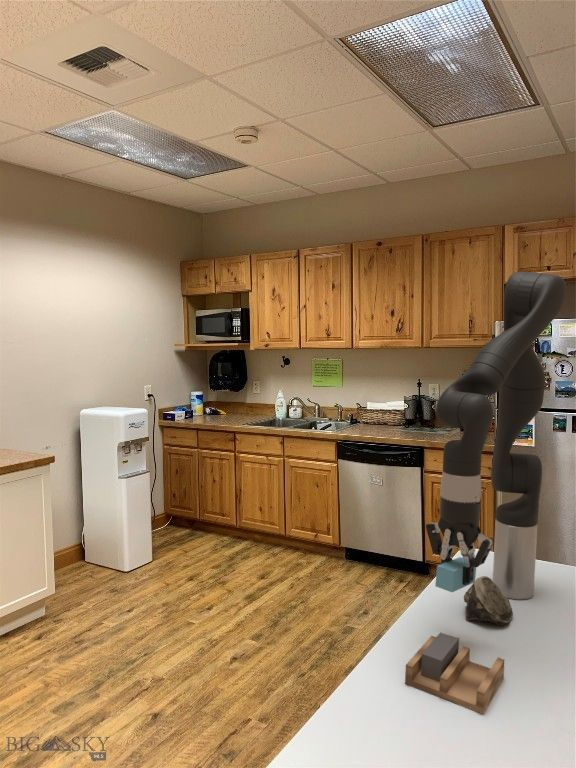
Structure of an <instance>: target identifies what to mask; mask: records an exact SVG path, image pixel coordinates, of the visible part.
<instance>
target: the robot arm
mask: <svg viewBox="0 0 576 768" xmlns="http://www.w3.org/2000/svg"><path fill="white" fill-rule="evenodd" d="M566 296H567V286H566V282H565V280H564V278H563V277H562V276H560V275H556V274H551V273H543V272H531V271H530V272H529V271H514V272H513V273H511V275H510V276H509V277H508V279H507V281H506V284H505V286H504V293H503V308H502V309H503V311H502V312H503V313H502V314H503V332H502V333H500V334H498V335H496V336H495V337H493V338H492V339H491V340H489V341H488V342H487V343H485V344H484V345H483V347H482V348H481V349H480V350H479V352H478V353H477V355H476V357H475V358H474V360H473V362H472V363H471V364H470V366H469V368H468V369H467V370H466V371H465V372H463V373H462V374H461V375H460V376H459V377H458V378H457V379H456V380H455V381H453V382H452V383H451V384H450V385H449V386H448V387H446V389H445V390H444V391H443V392H442V393H441V395H440V396H439V398H438V400H437V403H436V407H435V413H436V418H437V420H438V421H439V422H440V423H441V424H442V425H444V426H446V427H449V428H456V429H461V430H463V433H462V436H461V437H460V439H453V440H449V441H447V442H445V444H444V447H443V456H442V475H441V480H440V494H439V495H440V497H439V498H440V499H439V517H440V518H439V520H438V521H437V522H436V521H432V522H430V523H427V524H426V525H425V529H426V533H427V537H428V540H429V542H430V543H429V544H430V547H431V550H432V554H434V555H438V556H439V557H440V559H441V560H440V561H441V562H440V565H441V564H443V563H446V562H449V561H452V560H453V558H452V556H453V552H454V550H455V549H454V548H455V547H457V548H459V551H460V555H461V556H462V558H463V562H464V566H463V579H462V584H463V585H468V584H470V582H472V581H473V579H474V567H476V568H479V567H480V566H481V565H483V564H485V562H486V560H487V558H488V555H489V553H490V552H491V549H492V547H493V546H494V547H493V549H494V550H493V563H492V564H493V565H492V566H493V567H492V569H493V570H492V581H493V583H495V584H496V585H497V586H498V588H499V589H500V591H501V593H502V594H503V595H504V596H505V597H507V598H508V599H512V600H529V599H531V598H532V597H533V596H534V593H535V592H534V591H535V590H534V589H535V578H536V577H535V576H536V575H535V574H536V559H537V542H538V541H537V540H538V522H539V519H538V518H539V510H540V509H539V507H540V495H541V488H542V482H543V481H542V480H543V465H542V461H541V457H539V456H538V455H537V454H531V453H516V452H515V453H514V452H511V449H512V447H513V445H514V443H515V442H516V439H517V438H518V436H519V435H520V433H522V431H523V430H524V429H525V428H526V427H527V426H528V424H530V422H531V421H532V420H533V419H534V417H536V416H537V414H538V413H539V412H540V410H541V408H542V407H543V403H544V396H545V388H546V387H545V385H546V374H545V370H544V369H543V365H542V364H541V362H540V359H539V358H538V356H537V353H536V352H535V350H534V349H533V346H532V345H533V343H534V342H535V341H536V340H537V339H538V338H539V337H540V335H541V334H542V333H544V331H545V330H547V327H548V326H549V325H550V324H551V323H553V321H554V319H555V318H556V317H557V315H558V314H559V313H560V311H561V309H562V308H563V306H564V303H565V300H566ZM496 393H498V407H497V409H498V412H497V414H498V415H497V425H496V434H495V441H494V442H495V443H494V448H493V455H492V461H491V471H490V482H491V486H492V488H493V489H494V490H495V491H497V492H500V493H508V494H509V493H510V494H522V495H521V496H520V497H519V498H517V499H514V500H512V501H509V502H506V503H502V504H500V505H498V506H497V507H496V509H495V520H494V521H495V526H494V538H493V537H488V536H486V535H485V534H483V533H482V529H481V527H480V520H481V502H482V495H483V493H482V475H481V472H482V471H481V470H482V455H483V454H482V453H483V451H484V450H483V449H484V446H485V443H486V441H487V437H488V434H489V431H490V428H491V426H492V423H493V418H494V407H493V404H492V402H491V400H490V399H489V398H488V397H487V396H492V395H495V394H496ZM510 452H511V453H510ZM440 532H441V533H440ZM441 534H442V535H441ZM441 536H443V539H442V537H441ZM477 540H478V544H477V545H478V547H479V549H478V551H477V553H476V552H475V551H476V547H475V546H476V545H475V542H476V541H477ZM475 553H476V554H475ZM470 585H471V584H470ZM468 586H469V585H468Z"/></svg>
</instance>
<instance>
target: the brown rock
mask: <svg viewBox="0 0 576 768" xmlns="http://www.w3.org/2000/svg"><path fill="white" fill-rule="evenodd" d="M463 601H464V602H463V603H466V610H465V620H466V621H471V620H472V621H473V620H477V621H480V622H484V621H488V622H491V623H494V624H495V625H497V626H505V625H507V624H510V622H511V620H512V618H513V616H514V614H513V613H514V612H513V608H512V605H511V602H510V600H509V598H507V597H505V596H504V595H503V594H502V593H501V591H500V589H499V588H498V586H497V585H496V584H495V583H493V579H491V578H490V577H488V576H484V575H483V576H480V577H477V578H475V582H474V583H472V584H471V586H470V587H469V588H468V589H467V591H465V593H464V595H463Z"/></svg>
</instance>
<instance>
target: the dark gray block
mask: <svg viewBox="0 0 576 768" xmlns="http://www.w3.org/2000/svg"><path fill="white" fill-rule="evenodd" d="M435 637H436V638H435V639H434V640H433V641H432V643H431V644H430V645H429V646H428V647H427V648H426V650H425V651H424V652H423V653H422V665H421V675H422V676H424V677H427V678H430V679H432V680H435V681H438V682H440V677H441V675H442V674H443V673H444V671H445V670H446V669H447V667H448V666H449V665H450V663H451V662H452V661H453V659H454V658H455V657H456V655H457V654H458V653H459V651H460V649H459V648H460V638H459V637H457V636H456V637H455V636H453V635H450V634H447V633H443V632H439V633H438V635H436V636H435Z"/></svg>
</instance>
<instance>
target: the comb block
mask: <svg viewBox="0 0 576 768" xmlns="http://www.w3.org/2000/svg"><path fill="white" fill-rule="evenodd" d="M436 637H437V636H434V635H430V637H429V638H428V639H427V640H426V641H425V643H424V644H423V645H421V647H420V648H418V650H417V651H416V652H415V653H414V655H412V657H411V658H410V659H409V661H408V662H407V663H405V672H404V673H405V677H404V678H405V680H404V682H405V683H404V684H405V685H407V686H410V687H413V688H414V689H415V688H416V689H418V690H420V691H423V692H425V693H429V695H430V694H431V695H433V696H436V697H438V698H441V699H443V700H446V701H448V702H452V703H454V704H456V705H459V706H461V707H464V708H466V709H469V710H471V711H474V712H477V713H479V714H482V715H484V713H485V712H486V710H487V708H488V707H489V705H490V703H491V701H492V700H493V697H494V696H495V694H496V693H497V691H498V689H499V688H500V686H501V683H502V682H503V680H504V676H505V659H504V658H501V657H496V659H495V661H494V662H493V664H492V665H491V667H487V666H485V665H482V664H480V663H476V662H473V661H471V660H470V657H471V656H470V654H471V653H470V652H471V648H470V647H467V646H462V647H461V649H459V651H458V654H457V655H456V657H455V658H454V659H453V661H452V662H451V663H450V665H449V666H448V667H447V669H446V670H445V671H444V673H443V674H442V675H441V677H440V682H438V681H435V680H432V679H430V678H427V677H424V676H422V675H421V665H422V653H423V652H424V651H425V650H426V648H427V647H428V646H429V645H430V644H431V643H432V641H433V640H434V639H435V638H436Z"/></svg>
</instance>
